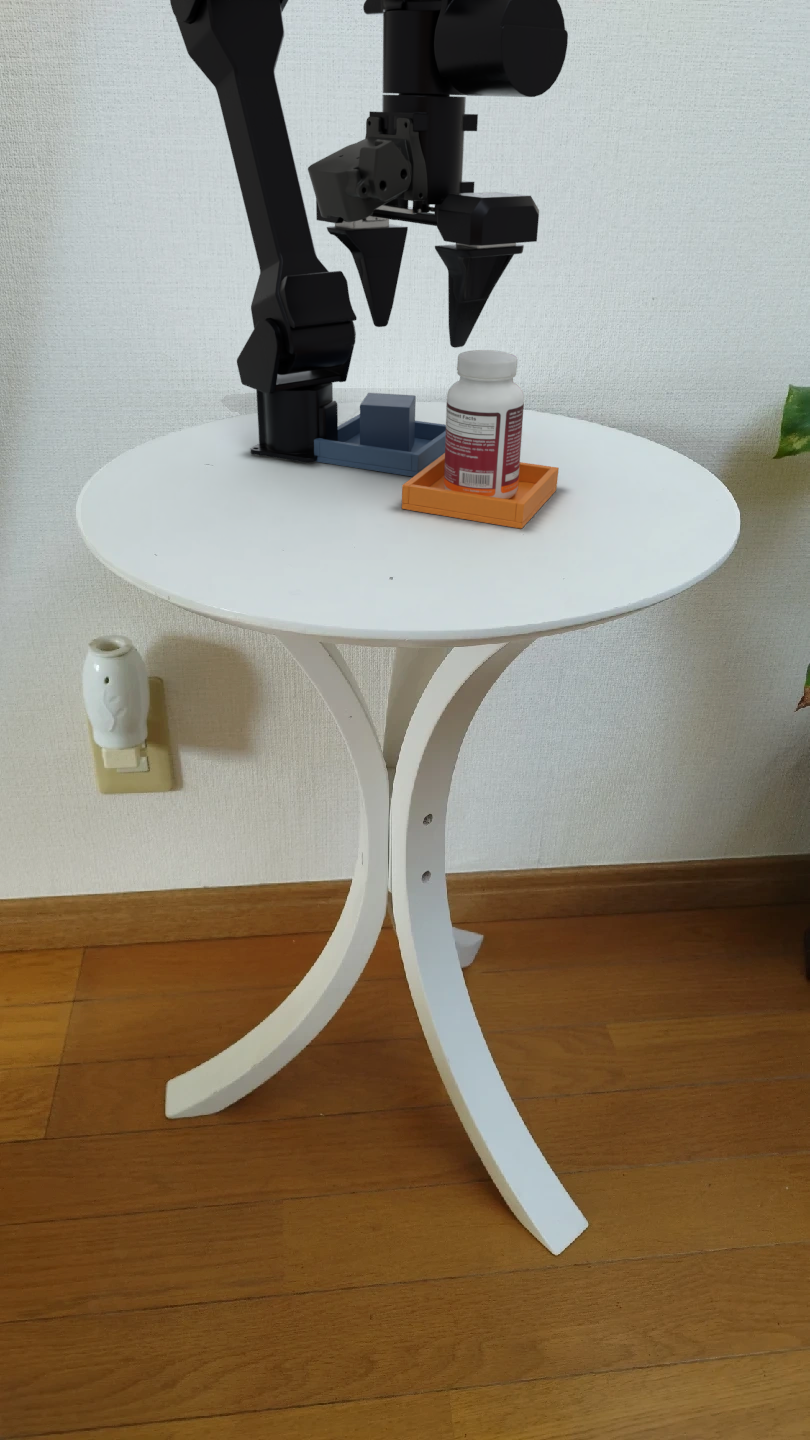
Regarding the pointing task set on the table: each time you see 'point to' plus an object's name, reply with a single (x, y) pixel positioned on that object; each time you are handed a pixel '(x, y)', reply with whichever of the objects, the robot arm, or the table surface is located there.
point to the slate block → (388, 421)
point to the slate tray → (382, 449)
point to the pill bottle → (484, 425)
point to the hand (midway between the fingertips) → (417, 336)
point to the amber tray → (480, 496)
